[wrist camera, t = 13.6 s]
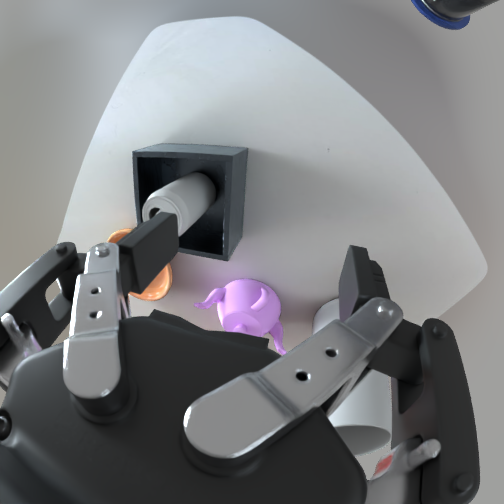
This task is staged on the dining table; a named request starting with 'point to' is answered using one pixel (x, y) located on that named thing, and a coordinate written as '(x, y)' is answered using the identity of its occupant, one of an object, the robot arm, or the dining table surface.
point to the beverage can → (182, 200)
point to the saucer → (158, 285)
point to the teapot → (248, 309)
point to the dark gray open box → (223, 177)
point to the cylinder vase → (360, 403)
